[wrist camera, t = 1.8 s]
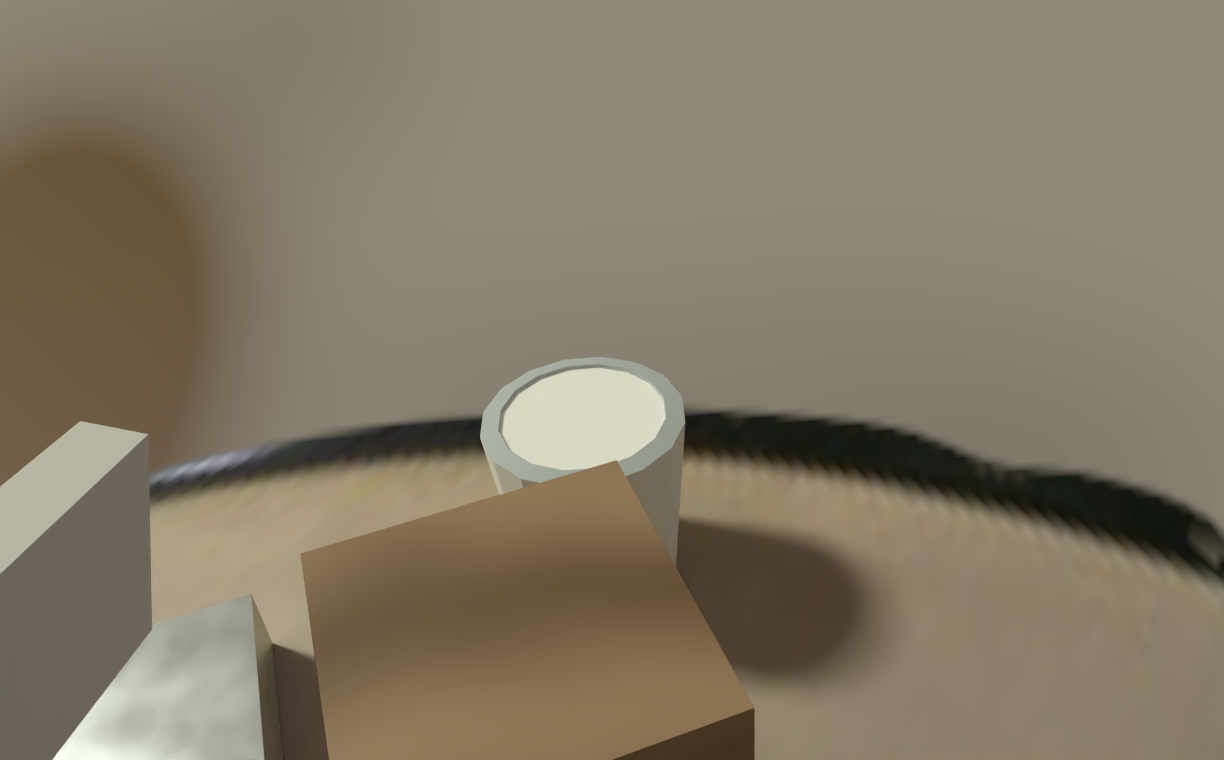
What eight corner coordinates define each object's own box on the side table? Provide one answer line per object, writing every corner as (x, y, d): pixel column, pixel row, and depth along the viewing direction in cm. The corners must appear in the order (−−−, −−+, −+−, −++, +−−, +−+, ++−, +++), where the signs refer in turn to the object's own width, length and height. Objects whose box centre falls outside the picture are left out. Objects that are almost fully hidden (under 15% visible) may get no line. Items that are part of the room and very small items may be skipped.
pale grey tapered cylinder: (666, 482, 41) (656, 338, 37) (716, 609, 35) (711, 458, 31) (498, 517, 40) (469, 374, 36) (522, 653, 35) (491, 503, 30)
